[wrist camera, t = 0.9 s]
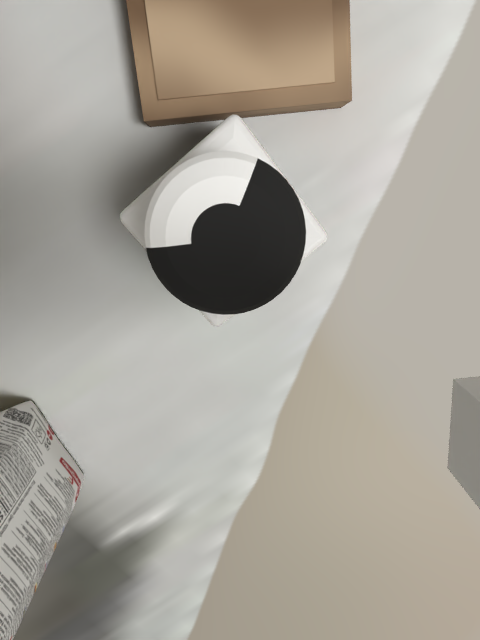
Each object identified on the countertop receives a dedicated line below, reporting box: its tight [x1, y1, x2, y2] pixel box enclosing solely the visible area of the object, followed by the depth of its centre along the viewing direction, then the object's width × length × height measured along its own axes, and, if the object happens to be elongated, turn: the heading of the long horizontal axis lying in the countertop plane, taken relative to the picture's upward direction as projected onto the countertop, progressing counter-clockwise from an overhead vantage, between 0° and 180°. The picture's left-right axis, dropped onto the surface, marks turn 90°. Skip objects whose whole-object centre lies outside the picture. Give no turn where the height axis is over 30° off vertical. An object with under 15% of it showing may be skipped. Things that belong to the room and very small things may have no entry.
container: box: [120, 114, 327, 326], centre depth 24 cm, size 8×8×13 cm
